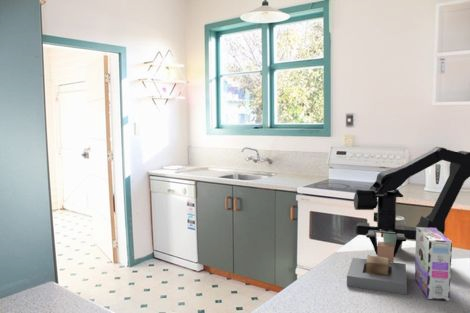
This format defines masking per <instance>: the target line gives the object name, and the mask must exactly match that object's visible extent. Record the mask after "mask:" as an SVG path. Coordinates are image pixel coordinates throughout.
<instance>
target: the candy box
mask: <svg viewBox="0 0 470 313" xmlns="http://www.w3.org/2000/svg"><path fill="white" fill-rule="evenodd" d="M452 249H453V241H452V240H450V239H449V237H447V236H446V235H445V234H444V235H443V234H442V233H441V232H440V231H439V230H438V229H437V228H426V227H417V226H416V240H415V259H414V260H415V261H414V262H415V264H414V265H415V268H414V270H415V271H414V272H415V273H414V280H415V282H416V284H417V285H418V287H419V288H420V290H421V291H422V293H423V294H424V295H425V296H424V297H426V299H427V300H435V301H436V300H438V301H448V302H449V301H450V297H451V296H450V292H451V272H452V271H451V270H452V257H453V256H452V251H453V250H452Z"/></svg>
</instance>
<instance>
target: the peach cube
mask: <svg viewBox="0 0 470 313" xmlns="http://www.w3.org/2000/svg"><path fill="white" fill-rule="evenodd" d="M377 246H378V248H377V255H376V256H377V257H385V258H389V260H388V262H394V258H395V257H394V243H390V242H384V241H380V240H379V241H378V240H377ZM394 263H395V262H394Z"/></svg>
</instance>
